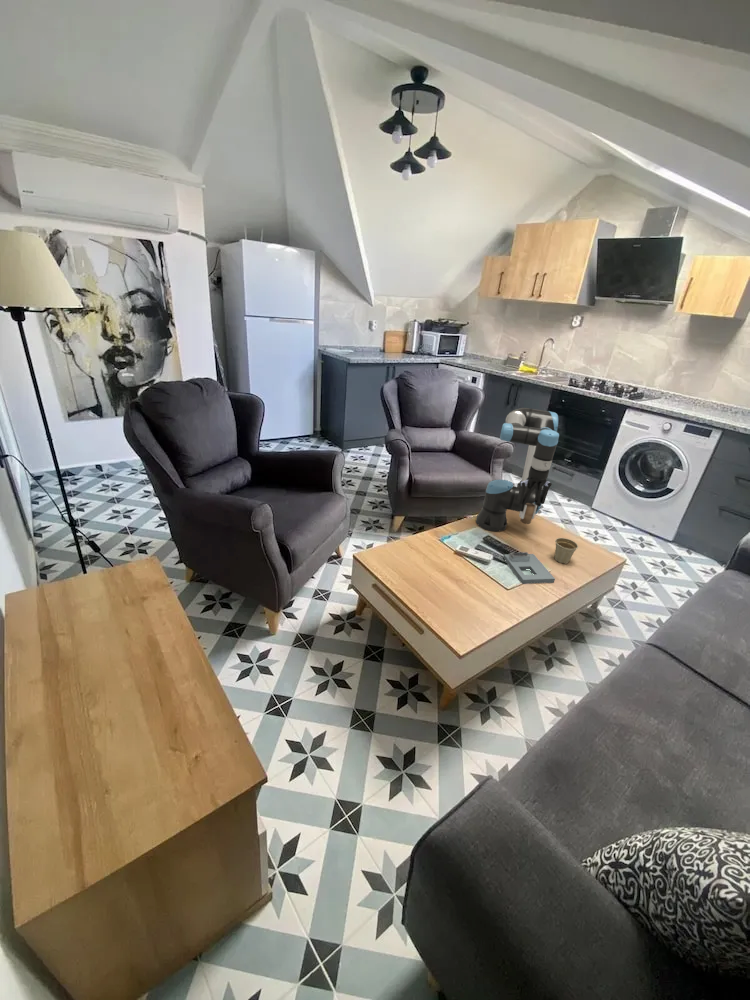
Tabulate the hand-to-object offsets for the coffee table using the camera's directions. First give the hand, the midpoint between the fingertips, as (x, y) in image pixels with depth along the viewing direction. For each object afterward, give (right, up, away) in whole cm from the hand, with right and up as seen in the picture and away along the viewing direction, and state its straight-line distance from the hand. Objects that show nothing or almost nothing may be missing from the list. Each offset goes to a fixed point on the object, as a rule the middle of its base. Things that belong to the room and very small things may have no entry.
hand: (526, 517), depth 181 cm
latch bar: (-4, -18, -2) cm, 19 cm away
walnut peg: (0, -2, +1) cm, 2 cm away
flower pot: (+17, -19, +5) cm, 26 cm away
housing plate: (-1, -22, -5) cm, 23 cm away
